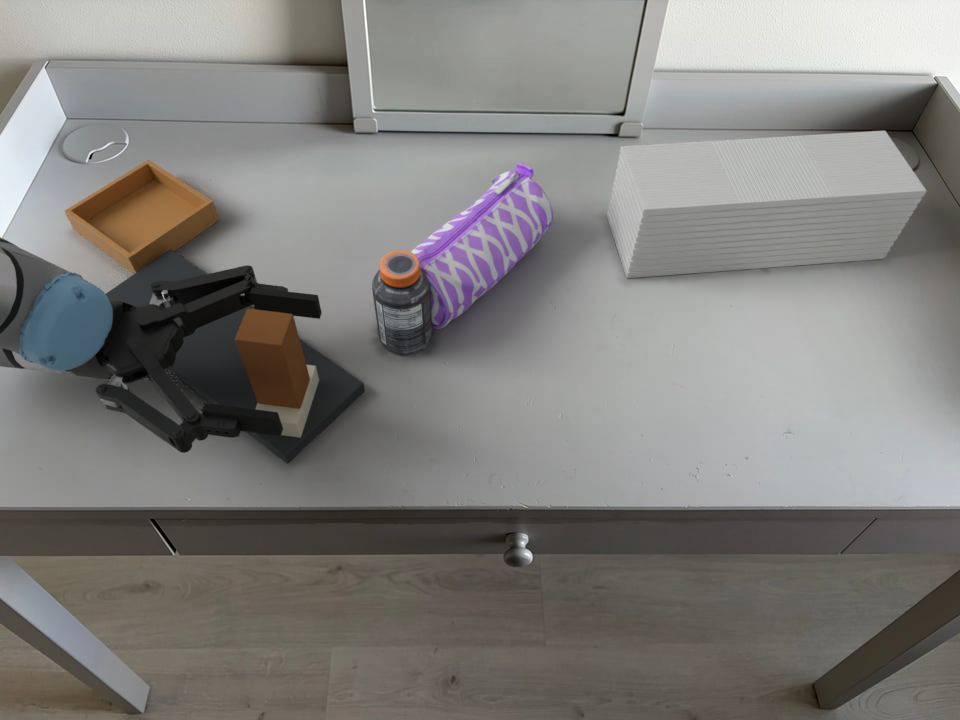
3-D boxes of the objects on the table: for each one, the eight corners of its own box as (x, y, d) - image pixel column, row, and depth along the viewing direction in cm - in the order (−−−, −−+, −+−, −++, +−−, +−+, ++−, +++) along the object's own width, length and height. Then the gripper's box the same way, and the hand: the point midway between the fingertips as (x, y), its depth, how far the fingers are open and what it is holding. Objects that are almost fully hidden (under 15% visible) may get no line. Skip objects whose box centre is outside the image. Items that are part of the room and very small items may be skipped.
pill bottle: (399, 307, 88) (393, 233, 79) (443, 329, 86) (442, 256, 77) (367, 341, 85) (357, 268, 76) (411, 365, 83) (406, 293, 74)
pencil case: (495, 206, 98) (498, 144, 91) (557, 237, 95) (566, 176, 88) (384, 313, 87) (377, 253, 80) (450, 352, 84) (450, 293, 76)
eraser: (300, 438, 76) (276, 361, 66) (256, 432, 76) (226, 354, 66) (319, 379, 80) (299, 299, 70) (277, 374, 80) (252, 293, 70)
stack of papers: (848, 199, 101) (885, 130, 92) (883, 259, 94) (926, 190, 86) (606, 216, 98) (621, 146, 89) (626, 278, 91) (643, 209, 83)
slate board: (287, 464, 76) (284, 456, 74) (95, 313, 86) (89, 304, 85) (365, 391, 81) (363, 382, 80) (174, 258, 92) (170, 248, 90)
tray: (137, 276, 90) (128, 258, 87) (74, 230, 94) (63, 210, 92) (219, 220, 96) (213, 201, 93) (156, 178, 100) (148, 159, 98)
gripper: (144, 267, 84) (337, 289, 82) (34, 471, 69) (268, 502, 67) (119, 215, 78) (327, 238, 76) (-6, 426, 63) (250, 459, 61)
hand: (300, 362), depth 72 cm, fingers open, 13 cm apart
